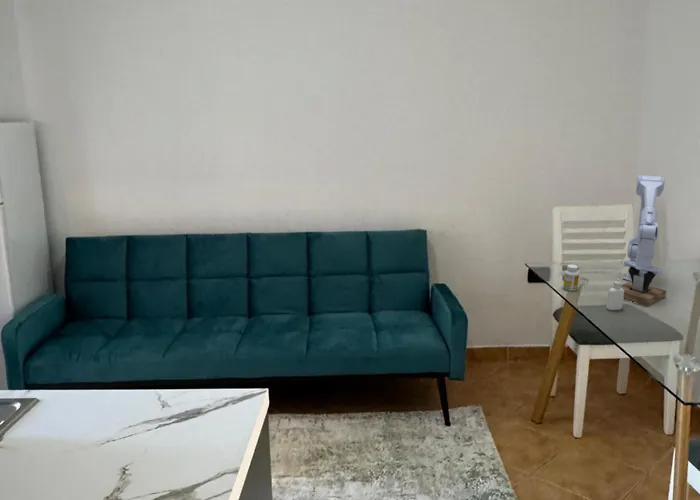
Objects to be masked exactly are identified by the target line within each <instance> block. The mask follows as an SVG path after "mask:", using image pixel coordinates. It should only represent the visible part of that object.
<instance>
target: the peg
mask: <svg viewBox="0 0 700 500" xmlns="http://www.w3.org/2000/svg"><path fill="white" fill-rule="evenodd" d="M632 290H633V291H636V292H639V293H642V294H644V293H646V292H647V290H644V274H642V273H638V274H635V275H634V279H633V286H632Z"/></svg>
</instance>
